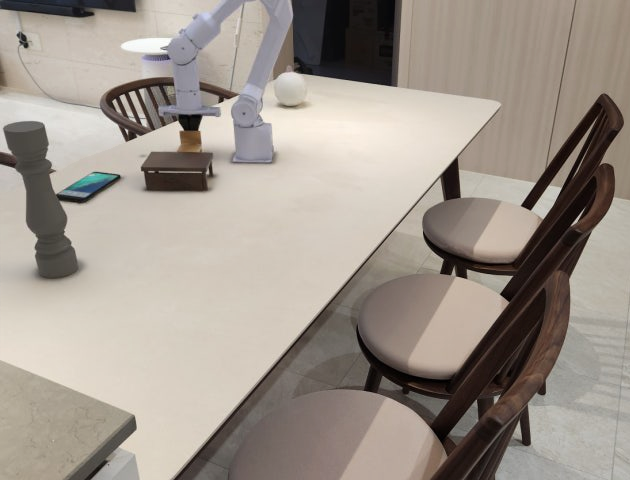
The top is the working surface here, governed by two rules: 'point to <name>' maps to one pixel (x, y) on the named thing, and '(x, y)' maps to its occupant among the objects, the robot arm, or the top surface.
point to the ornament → (290, 88)
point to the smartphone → (88, 186)
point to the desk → (177, 164)
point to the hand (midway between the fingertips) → (193, 144)
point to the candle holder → (41, 199)
